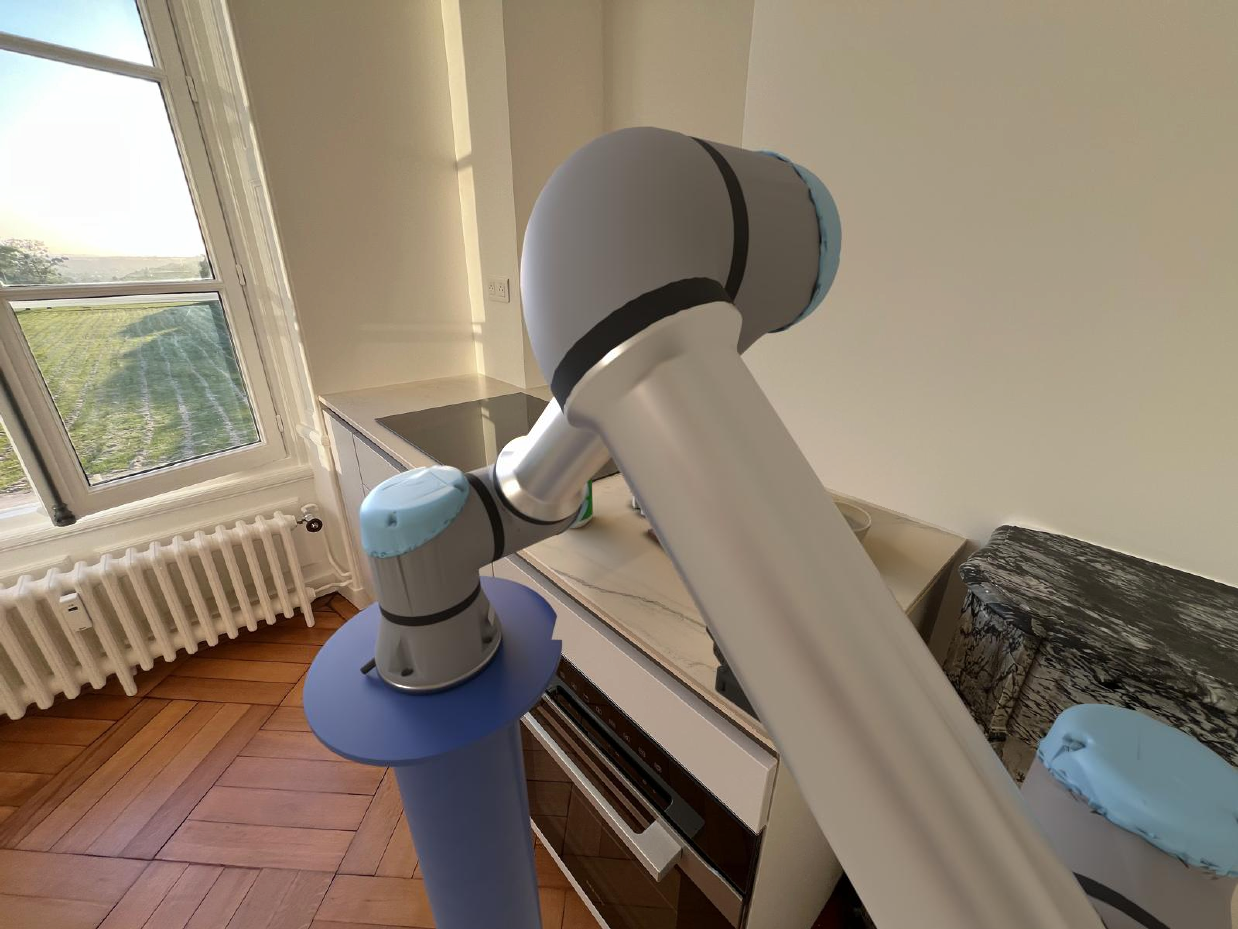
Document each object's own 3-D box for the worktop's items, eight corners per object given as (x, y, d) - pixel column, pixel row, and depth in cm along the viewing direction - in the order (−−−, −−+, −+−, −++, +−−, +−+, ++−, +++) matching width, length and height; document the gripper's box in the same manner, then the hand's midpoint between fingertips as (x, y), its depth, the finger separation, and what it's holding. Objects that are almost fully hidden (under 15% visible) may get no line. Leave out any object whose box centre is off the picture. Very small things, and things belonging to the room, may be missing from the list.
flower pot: (800, 531, 86) (806, 494, 83) (863, 545, 82) (872, 506, 79) (792, 560, 78) (798, 521, 75) (861, 577, 73) (871, 536, 71)
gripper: (770, 865, 36) (661, 657, 55) (1016, 766, 43) (845, 612, 62) (784, 798, 33) (664, 603, 52) (1046, 704, 40) (857, 562, 59)
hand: (762, 608), depth 57 cm, fingers open, 13 cm apart
